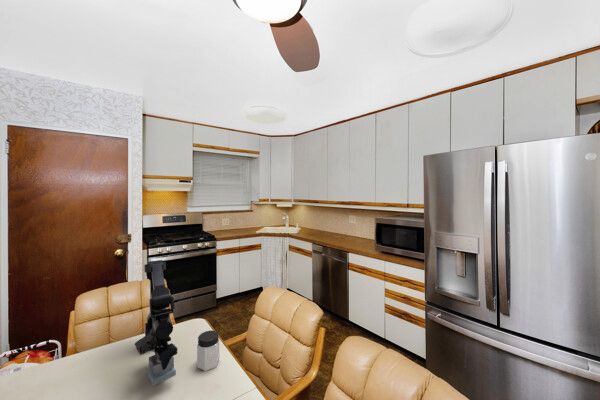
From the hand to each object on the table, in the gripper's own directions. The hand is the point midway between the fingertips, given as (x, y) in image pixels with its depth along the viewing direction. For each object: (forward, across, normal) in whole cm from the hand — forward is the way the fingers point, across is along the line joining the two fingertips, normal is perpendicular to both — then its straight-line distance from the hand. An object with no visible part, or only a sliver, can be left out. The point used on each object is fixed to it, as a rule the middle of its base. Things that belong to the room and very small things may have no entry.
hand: (161, 364), depth 97 cm
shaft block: (+4, 0, 0) cm, 4 cm away
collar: (+1, 0, 0) cm, 1 cm away
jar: (+4, +7, +16) cm, 18 cm away
